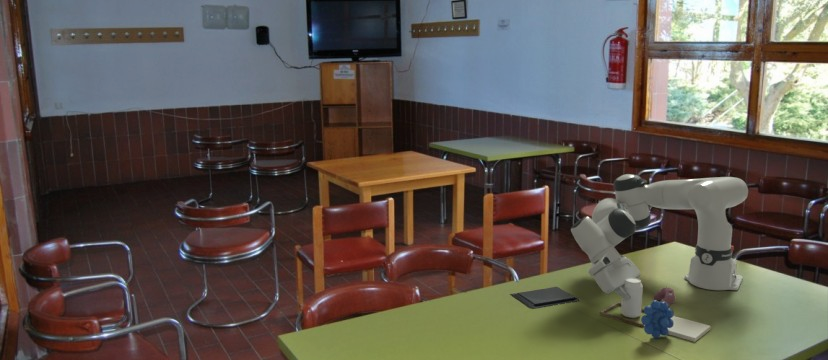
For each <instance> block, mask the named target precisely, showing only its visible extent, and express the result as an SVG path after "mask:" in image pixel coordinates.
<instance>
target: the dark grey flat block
mask: <svg viewBox="0 0 828 360" xmlns="http://www.w3.org/2000/svg"><path fill="white" fill-rule="evenodd" d="M509 296H512V297H513V299H515V300H516V301H519V302H520V303H521V304H523V305H524V306H526V307H527V308H528V309H531V310H536V309H541V308H547V307H551V306H552V307H553V305H554V306H559V305H558V304H560V305H564V304H565V303H566V304H570V303H571V302H572V303H577V301H578V302H580V301H581V299H579V298H578V297H577V296H574V295H573V294H571V293H570V292H568V291H566V290H564V289H563V288H560V287H558V286H551V287H544V288H539V289H533V290H532V289H531V290H526V291H525V290H524V291H518V292H515V293H510V294H509Z"/></svg>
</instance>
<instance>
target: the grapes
mask: <svg viewBox="0 0 828 360" xmlns="http://www.w3.org/2000/svg"><path fill="white" fill-rule="evenodd" d="M669 307H670V305H669V306H668V304H667V303H666V302H661V301H659V300H654V299H653V300H652V302H651V303H650V305H645V306H644V308H643V309H644V312H643V313H644V315H642V316H641V318H640V323H643V324H644V327H643V331H644V333H646V334H647V335H651V336H652V338H654V339H659V338H660V337H661V336H664V337H665V336H668V335H669V334H668V328H671V327H673V325H674V323H673V320H672V319H670V318H672V317H673V316H675V315H674V311H673V310H672V309H671V308H669Z"/></svg>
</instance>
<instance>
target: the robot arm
mask: <svg viewBox="0 0 828 360" xmlns="http://www.w3.org/2000/svg"><path fill="white" fill-rule="evenodd" d="M613 191H614V194H615V198H613V197H606V198H603V199H602V200H600V201H599V202H598V203H597V204H596V206H595V207H594V209H593V212H592V214H591V217H590V216H588V215H587V216H583V217H582V218H580V220H578V221H577V222H575V223H574V224H573V225H572V226H571V228H570V232H571V234H572V236H573V237H574V240H575V241H576V244H578V246H579V247H580V249H581V250H582V251H583V252H584V253H585V254H586V255H587V256H588V259H589V261H590V262H591V265H590V267H589V269H588V271H587V272H588V274H589V275H590V276H591V277H593V279H594V281H595V282H596V285H598V287H599V288H600V289H601V290H602V292H603V293H605V294H606V295H609V294H611V293H613V292H615V293H616V294H617V295H618V296H620V297H621V298H622V297H623V299H624V300H625V301H627V300H629V299H630V298H631V296H630V295H629V294H628V293H626V292H625V291H624V290H623V288H622V285H624V284H625V280H627V279H629V278H639V277H640V276H641V275H642V273H641V271H640V269H639V268H638V267H637V266H636V265H635V263H634V262H633V261H632V260H631V259H630V258H628V257H626V256H624V255H622V254H621V253H619V252H618V250H617V249H616V248H615V247H616V246H618V244H620V243H621V242H622V241H624V240H625V239H627V238H629V237H630V236H632V235H633V234H635V233H636V231H639V230H643V229H646V228H647V227H649V225H650V224H651V221H652V219H651V217H652V216H651V214H650V210H649V209H650V207H653V208H657V209H665V210H694V211H695V214H696V217H697V224H698V227H697V228H698V229H697V230H698V231H697V243H696V244H695V249H694V251H695V253H694V254H695V255H693V256H692V257H690V263H689V269H688V274H684V279H685V280H686V281H688V282H689V284H691V285H692V286H695V287H697V288H700V289H705V290H709V291H710V290H711V291H727V290H729V291H738V290H739V288H740V286H741V284H742V282H743V280H744V279H743V275H741V274H737V271H738V265H737V263H736V261H735V260H734V259H733V251H734V248H735V247H734V245H732V237H733V226H732V225H731V223H730V222H728V219H727V215H726V210H727V209H728V208H729V209H730V208H733V207H736V206H738V205H740V204H742V203H743V202H745V200H746V199H747V198H748V194H749V188H748V185H747V183H746V182H745V181H744V180H743V179H741V178H739V177H733V176H720V177H717V176H716V177H703V178H702V177H701V178H692V179H667V180H665V179H664V180H660V181H655V182H651V183H649V184H648V181H647V180H646V179H645V178H642V177H641V176H639V175H637V174H634V173H633V174H632V173H631V174H630V173H626V174H622V175H620V176H618V177H617V178H615V179H614V180H613ZM649 206H650V207H649Z"/></svg>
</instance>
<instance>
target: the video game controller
mask: <svg viewBox="0 0 828 360" xmlns="http://www.w3.org/2000/svg"><path fill="white" fill-rule="evenodd" d="M652 298H653V301H654V300H656V301H660V302H666V303H667V304H668V306H669V307H670V306H671V305H673V304H675V302H676V295H675V291H674V289H673V288H671V287H670V286H669V287H667V286H665V287H663V288H662V289H660V290H659V291H658V292H655V293H654V295H653V296H652Z"/></svg>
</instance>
